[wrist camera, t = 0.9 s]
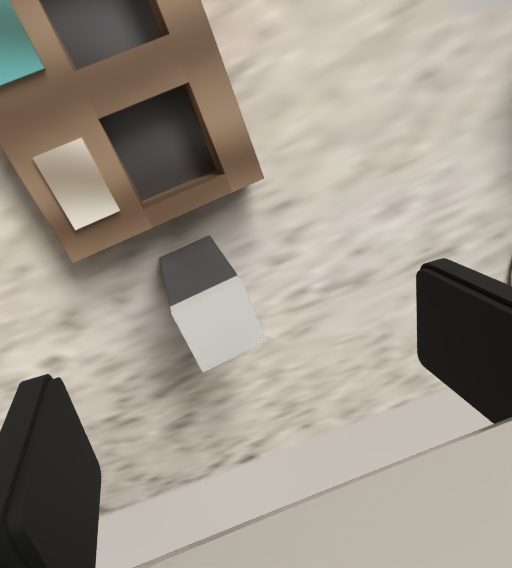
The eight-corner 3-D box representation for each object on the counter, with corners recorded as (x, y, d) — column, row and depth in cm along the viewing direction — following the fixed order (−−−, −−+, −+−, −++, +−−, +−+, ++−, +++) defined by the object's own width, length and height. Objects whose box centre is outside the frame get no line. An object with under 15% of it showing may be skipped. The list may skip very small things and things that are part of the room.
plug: (229, 280, 32) (267, 341, 24) (182, 302, 32) (202, 372, 23) (209, 235, 31) (242, 281, 22) (159, 258, 30) (171, 314, 21)
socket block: (250, 172, 30) (266, 179, 26) (79, 247, 29) (72, 265, 25) (149, -102, 23) (152, -142, 20) (-82, -21, 22) (-123, -48, 18)
